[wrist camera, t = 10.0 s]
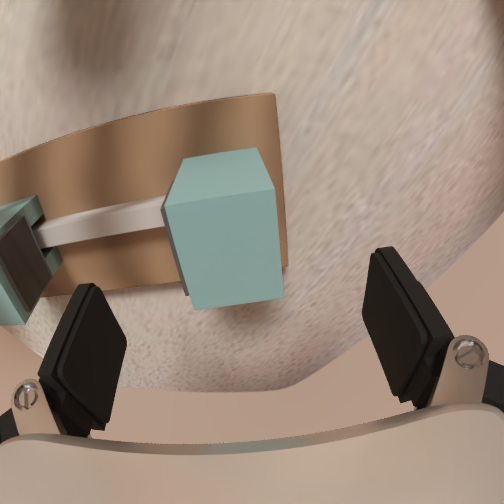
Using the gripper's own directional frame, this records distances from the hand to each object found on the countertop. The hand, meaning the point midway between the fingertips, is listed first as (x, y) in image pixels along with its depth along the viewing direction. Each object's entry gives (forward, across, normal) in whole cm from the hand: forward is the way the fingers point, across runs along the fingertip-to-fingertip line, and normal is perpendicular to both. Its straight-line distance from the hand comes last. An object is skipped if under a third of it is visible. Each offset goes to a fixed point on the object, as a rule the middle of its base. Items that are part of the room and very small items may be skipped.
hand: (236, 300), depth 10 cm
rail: (+12, +8, +1) cm, 14 cm away
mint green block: (+10, 0, +1) cm, 11 cm away
